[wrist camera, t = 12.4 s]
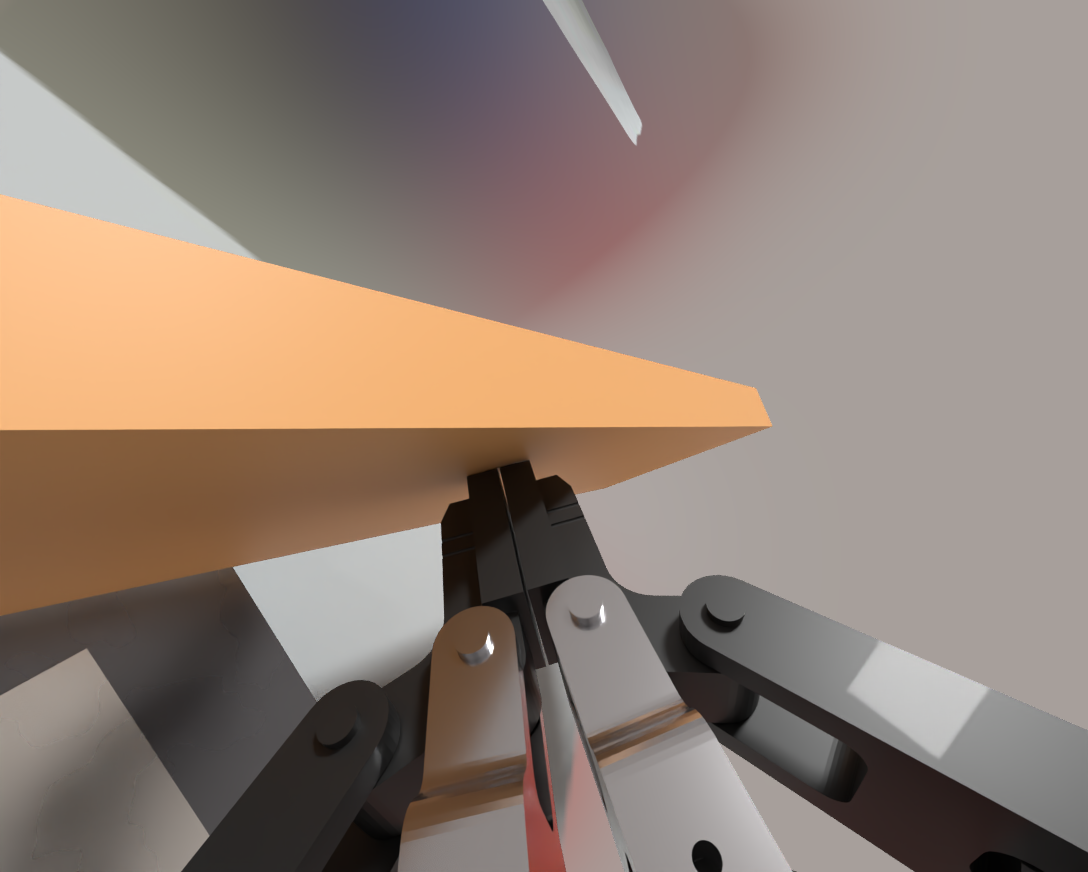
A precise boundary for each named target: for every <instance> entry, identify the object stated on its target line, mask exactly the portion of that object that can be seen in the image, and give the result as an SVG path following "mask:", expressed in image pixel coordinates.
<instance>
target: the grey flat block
mask: <svg viewBox="0 0 1088 872" xmlns="http://www.w3.org/2000/svg"><path fill="white" fill-rule="evenodd" d="M316 703H317V702H316V700H315V699H314V697H313V695H312V694H311V692H310V691H309V689H308V687H307V686H306V684H305V683H304V681H303V679H302V678H301V676H300V675H299V673H298V671H297V670H296V668H295V667H294V665H293V663H292V662H291V660H290V659H289V657H288V655H287V654H286V652H285V651H284V649H283V647H282V646H281V644H280V643H279V641H278V639H277V638H276V636H275V634H274V633H273V631H272V630H271V628H270V626H269V625H268V623H267V622H266V620H265V618H264V617H263V615H262V614H261V612H260V610H259V609H258V607H257V606H256V604H255V602H254V601H253V599H252V598H251V596H250V594H249V593H248V591H247V590H246V588H245V586H244V585H243V583H242V582H241V580H240V578H239V577H238V575H237V574H236V572H235V570H234V569H233V567H229V568H225V569H220V570H215V571H211V572H206V573H201V574H196V575H192V576H187V577H182V578H177V579H173V580H168V581H163V582H158V583H154V584H149V585H144V586H139V587H135V588H130V589H125V590H121V591H116V592H111V593H106V594H102V595H97V596H92V597H87V598H83V599H78V600H73V601H68V602H64V603H59V604H54V605H49V606H45V607H40V608H35V609H30V610H26V611H21V612H16V613H12V614H7V615H2V616H0V872H181V871H182V870H183V868H184V867H185V866H186V865H187V863H188V862H189V861H190V860H191V858H192V857H193V856H194V855H195V853H196V852H197V851H198V850H199V848H200V847H201V846H202V845H203V843H204V842H205V841H206V840H207V838H208V837H209V836H210V835H211V833H212V832H213V831H214V830H215V828H216V827H217V826H218V825H219V823H220V822H221V821H222V820H223V818H224V817H225V816H226V815H227V813H228V812H229V811H230V810H231V808H232V807H233V806H234V805H235V803H236V802H237V801H238V800H239V798H240V797H241V796H242V795H243V793H244V792H245V791H246V790H247V788H248V787H249V786H250V785H251V783H252V782H253V781H254V780H255V778H256V777H257V776H258V775H259V773H260V772H261V771H262V770H263V768H264V767H265V766H266V765H267V763H268V762H269V761H270V760H271V758H272V757H273V756H274V755H275V753H276V752H277V751H278V750H279V748H280V747H281V746H282V745H283V743H284V742H285V741H286V740H287V738H288V737H289V736H290V735H291V733H292V732H293V731H294V730H295V728H296V727H297V726H298V724H299V723H300V722H301V721H302V719H303V718H304V717H305V716H306V714H307V713H308V712H309V711H310V709H311V708H312V707H313V706H314V705H315V704H316Z"/></svg>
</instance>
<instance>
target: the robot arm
mask: <svg viewBox="0 0 1088 872" xmlns="http://www.w3.org/2000/svg"><path fill="white" fill-rule="evenodd" d="M500 472H501V477H502V481H503V486H504V490H505V493H504V490H503V486H502V482H501V479H500V475H499V472H498V469H497V468H496V469H493V470H489V471H485V472H481V473H478V474H474V475H470V476H467V484H468V493H469V499H465V500H462V501H458V502H454V503H450V504H449V506H448V508H447V510H446V512H445V515H444V517H443V519H442V521H441V534H442V556H443V559H442V564H443V593H444V625H443V627H442V628H441V630H440V631H439V633H438V635H437V637H436V639H435V642H434V645H433V649H432V651H431V652H430V653H429V654H428V655H427V656H426V658H425V659H423V660H422V661H421V662H420V663H419V664H418V665H416V666H415V667H414V668H412V669H411V670H409V671H408V672H406V673H404V674H403V675H401V676H400V677H398V678H397V679H395V680H394V681H392V682H390V683H389V684H387V685H386V686H384V687H383V688H380V687H379V686H378V685H376V684H375V683H373V682H370V681H365V680H357V681H351V682H347V683H345V684H342V685H340V686H338V687H336V688H335V689H333V690H331V691H330V692H328V693H327V694H326V695H324V696H323V697H322V698H321V699H320V700H319V701H318V702H317V703H316V704H315V705H314V706H313V707H312V708H311V709H310V711H309V712H308V713H307V714H306V716H305V717H304V718H303V719H302V721H301V722H300V723H299V724H298V726H297V727H296V728H295V730H294V731H293V732H292V733H291V735H290V736H289V737H288V738H287V740H286V741H285V742H284V743H283V745H282V746H281V747H280V748H279V750H278V751H277V752H276V753H275V755H274V756H273V757H272V758H271V760H270V761H269V762H268V763H267V765H266V766H265V767H264V768H263V770H262V771H261V772H260V773H259V775H258V776H257V777H256V778H255V780H254V781H253V782H252V783H251V785H250V786H249V787H248V788H247V790H246V791H245V792H244V793H243V795H242V796H241V797H240V798H239V800H238V801H237V802H236V803H235V805H234V806H233V807H232V808H231V810H230V811H229V812H228V813H227V815H226V816H225V817H224V818H223V820H222V821H221V822H220V823H219V825H218V826H217V827H216V828H215V830H214V831H213V832H212V833H211V835H210V836H209V837H208V838H207V840H206V841H205V842H204V843H203V845H202V846H201V847H200V848H199V850H198V851H197V852H196V853H195V855H194V856H193V857H192V858H191V860H190V861H189V862H188V863H187V865H186V866H185V867H184V868H183V870H182V871H181V872H566V868H565V863H564V858H563V853H562V849H561V844H560V839H559V833H558V827H557V820H556V812H555V804H554V797H553V789H552V781H551V774H550V766H549V758H548V750H547V743H546V735H545V727H544V720H543V713H542V708H541V705H542V702H541V694H540V690H539V685H538V680H537V675H536V670H535V669H539V668H542V667H545V666H546V664H545V659H544V655H543V651H542V646H541V642H540V637H539V633H538V629H539V632H540V636H541V639H542V642H543V646H544V649H545V653H546V656H547V659H548V663H549V665H551V664H554V663H557V662H558V664H559V668H560V672H561V675H562V679H563V683H564V686H565V690H566V694H567V697H568V701H569V705H570V708H571V711H572V714H573V717H574V720H575V723H576V726H577V729H578V732H579V735H580V738H581V740H582V744H583V746H584V749H585V752H586V755H587V758H588V761H589V764H590V767H591V770H592V773H593V776H594V779H595V782H596V785H597V788H598V791H599V794H600V797H601V800H602V803H603V806H604V809H605V812H606V815H607V818H608V821H609V824H610V828H611V831H612V834H613V838H614V841H615V844H616V847H617V850H618V854H619V857H620V860H621V862H622V866H623V869H624V872H796V871H793V870H791V868H790V866H789V865H788V863H787V861H786V859H785V858H784V856H783V854H782V852H781V851H780V849H779V847H778V845H777V844H776V842H775V840H774V838H773V837H772V835H771V833H770V831H769V830H768V828H767V826H766V825H765V823H764V821H763V819H762V817H761V816H760V814H759V812H758V810H757V809H756V807H755V805H754V804H753V802H752V800H751V798H750V796H749V795H748V793H747V791H746V789H745V788H744V786H743V784H742V782H741V781H740V779H739V777H738V775H737V774H736V772H735V770H734V768H733V767H732V765H731V763H730V761H729V760H728V758H727V756H726V754H725V752H724V751H723V749H722V747H721V746H720V744H719V743H721V744H722V745H724V746H726V747H727V748H728V749H730V750H731V751H733V752H734V753H736V754H738V755H739V756H741V757H742V758H744V759H745V760H747V761H748V762H750V763H751V764H753V765H754V766H756V767H757V768H759V769H760V770H762V771H763V772H765V773H766V774H768V775H769V776H771V777H772V778H774V779H775V780H777V781H778V782H780V783H781V784H783V785H784V786H786V787H787V788H789V789H790V790H792V791H794V792H795V793H797V794H798V795H799V796H801V797H803V798H804V799H806V800H807V801H809V802H810V803H812V804H813V805H815V806H816V807H818V808H819V809H821V810H822V811H824V812H825V813H827V814H828V815H830V816H831V817H833V818H834V819H836V820H837V821H839V822H840V823H842V824H843V825H845V826H846V827H848V828H849V829H851V830H852V831H854V832H855V833H857V834H859V835H860V836H861V837H863V838H865V839H866V840H867V841H869V842H871V843H872V844H874V845H875V846H877V847H878V848H880V849H881V850H883V851H884V852H886V853H888V854H889V855H890V856H892V857H893V858H895V859H896V860H898V861H899V862H901V863H902V864H904V865H905V866H907V867H908V868H910V869H911V870H913V871H914V872H1088V730H1086V729H1083V728H1081V727H1079V726H1076V725H1074V724H1072V723H1069V722H1067V721H1065V720H1063V719H1060V718H1058V717H1055V716H1053V715H1051V714H1049V713H1046V712H1044V711H1042V710H1039V709H1037V708H1035V707H1032V706H1030V705H1028V704H1026V703H1023V702H1021V701H1018V700H1016V699H1014V698H1012V697H1009V696H1007V695H1005V694H1003V693H1000V692H998V691H995V690H993V689H991V688H989V687H986V686H984V685H982V684H979V683H977V682H975V681H972V680H970V679H968V678H965V677H963V676H961V675H959V674H956V673H954V672H952V671H949V670H947V669H945V668H942V667H940V666H938V665H936V664H933V663H931V662H929V661H926V660H924V659H922V658H919V657H917V656H915V655H912V654H910V653H908V652H906V651H903V650H901V649H899V648H896V647H894V646H891V645H889V644H887V643H885V642H882V641H880V640H878V639H876V638H873V637H871V636H868V635H866V634H864V633H862V632H859V631H857V630H855V629H852V628H850V627H848V626H845V625H843V624H841V623H839V622H836V621H834V620H831V619H829V618H827V617H825V616H822V615H820V614H818V613H816V612H813V611H811V610H809V609H806V608H804V607H802V606H799V605H797V604H795V603H792V602H790V601H788V600H785V599H783V598H780V597H779V596H776V595H774V594H772V593H769V592H767V591H765V590H762V589H760V588H758V587H755V586H753V585H751V584H749V583H746V582H744V581H742V580H738V579H736V578H733V577H728V576H721V575H716V576H715V575H713V576H706V577H703V578H700V579H697V580H695V581H694V582H692V583H691V584H690V585H688V586H687V588H686V589H685V590H684V591H683V594H682V596H652V595H642V594H638V593H635V592H632V591H630V590H628V589H626V588H624V587H623V586H621V585H619V584H618V583H617V582H616V581H615V580H614V579H613V578H612V577H611V575H610V574H609V572H608V570H607V568H606V566H605V564H604V561H603V559H602V557H601V555H600V552H599V550H598V547H597V545H596V543H595V540H594V538H593V536H592V534H591V531H590V529H589V526H588V524H587V522H586V520H585V518H584V515H583V512H582V510H581V508H580V506H579V504H578V501H577V498H576V496H575V494H574V492H573V489H572V487H571V485H569V484H568V483H567V482H565V481H564V480H563V479H562V478H560V477H559V476H558V475H553V476H550V477H546V478H542V479H538V480H536V478H535V475H534V472H533V469H532V466H531V463H530V460H526V461H522V462H518V463H515V464H511V465H507V466H503V467H500ZM505 495H506V497H505ZM506 499H507V500H506ZM507 503H508V504H507ZM534 615H535V616H534ZM535 618H536V620H535ZM536 622H537V624H536ZM537 625H538V629H537Z"/></svg>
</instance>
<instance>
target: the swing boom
mask: <svg viewBox="0 0 1088 872" xmlns="http://www.w3.org/2000/svg"><path fill="white" fill-rule="evenodd" d="M769 427H772V424H771V422H770V420H769V417H768V415H767V413H766V410H765V408H764V406H763V404H762V401H761V399H760V397H759V394H758V392H757V390H756V388H753V387H749V386H745V385H741V384H737V383H733V382H730V381H726V380H722V379H718V378H714V377H710V376H706V375H702V374H698V373H694V372H691V371H686V370H682V369H679V368H675V367H671V366H667V365H663V364H659V363H655V362H652V361H647V360H644V359H640V358H636V357H632V356H628V355H624V354H620V353H616V352H612V351H608V350H605V349H601V348H597V347H593V346H589V345H585V344H581V343H578V342H573V341H570V340H566V339H562V338H558V337H554V336H550V335H546V334H542V333H538V332H535V331H531V330H527V329H523V328H519V327H515V326H511V325H507V324H503V323H499V322H495V321H492V320H488V319H484V318H480V317H476V316H472V315H468V314H464V313H461V312H457V311H452V310H449V309H445V308H441V307H437V306H433V305H429V304H425V303H422V302H418V301H414V300H410V299H406V298H402V297H398V296H394V295H390V294H386V293H383V292H379V291H375V290H371V289H367V288H363V287H359V286H355V285H351V284H347V283H343V282H340V281H335V280H332V279H328V278H324V277H320V276H316V275H312V274H309V273H304V272H301V271H297V270H293V269H289V268H285V267H281V266H277V265H273V264H269V263H266V262H262V261H258V260H254V259H250V258H246V257H242V256H238V255H234V254H231V253H227V252H223V251H219V250H215V249H211V248H207V247H203V246H199V245H196V244H192V243H188V242H184V241H180V240H176V239H172V238H168V237H164V236H160V235H157V234H153V233H149V232H145V231H141V230H137V229H133V228H129V227H125V226H121V225H118V224H114V223H110V222H106V221H102V220H98V219H94V218H90V217H86V216H82V215H79V214H75V213H71V212H67V211H63V210H59V209H55V208H51V207H47V206H43V205H40V204H36V203H32V202H28V201H24V200H20V199H16V198H12V197H8V196H5V195H1V194H0V616H2V615H7V614H12V613H16V612H21V611H26V610H30V609H35V608H40V607H45V606H49V605H54V604H59V603H64V602H68V601H73V600H78V599H83V598H87V597H92V596H97V595H102V594H106V593H111V592H116V591H121V590H125V589H130V588H135V587H139V586H144V585H149V584H154V583H158V582H163V581H168V580H173V579H177V578H182V577H187V576H192V575H196V574H201V573H206V572H211V571H215V570H220V569H225V568H229V567H234V566H239V565H244V564H248V563H253V562H258V561H263V560H267V559H272V558H277V557H282V556H286V555H291V554H296V553H301V552H305V551H310V550H315V549H319V548H324V547H329V546H334V545H338V544H343V543H348V542H353V541H357V540H362V539H367V538H372V537H376V536H381V535H386V534H391V533H395V532H400V531H405V530H410V529H414V528H419V527H424V526H428V525H433V524H438V523H441V521H442V519H443V517H444V515H445V512H446V510H447V508H448V506H449V504H450V503H454V502H458V501H462V500H465V499H469V493H468V484H467V476H470V475H474V474H478V473H481V472H485V471H489V470H493V469H496V468H497V469H498V472H499V475H500V479H501V482H502V486H503V481H502V477H501V472H500V467H503V466H507V465H511V464H515V463H518V462H522V461H526V460H530V463H531V466H532V469H533V472H534V475H535V478H536V480H538V479H542V478H546V477H550V476H553V475H558V476H559V477H560V478H562V479H563V480H564V481H565V482H567V483H568V484H569V485H571V487H572V489H573V492H574V494H580V493H585V492H590V491H594V490H599V489H604V488H607V487H609V486H612V485H615V484H617V483H620V482H623V481H626V480H628V479H631V478H634V477H636V476H639V475H642V474H644V473H647V472H650V471H652V470H655V469H658V468H661V467H664V466H666V465H669V464H672V463H674V462H677V461H680V460H682V459H685V458H688V457H690V456H693V455H696V454H699V453H701V452H704V451H707V450H709V449H712V448H715V447H718V446H720V445H723V444H726V443H728V442H731V441H734V440H736V439H739V438H742V437H745V436H747V435H750V434H753V433H756V432H758V431H761V430H764V429H766V428H769ZM503 490H504V486H503ZM504 493H505V490H504ZM505 497H506V495H505ZM506 500H507V499H506ZM507 504H508V503H507Z"/></svg>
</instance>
